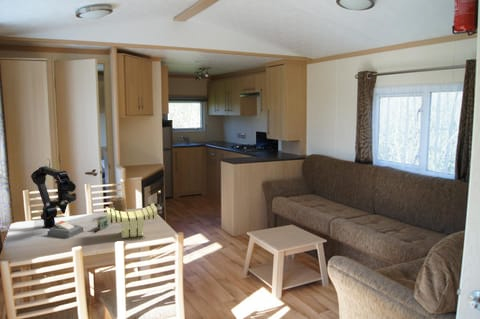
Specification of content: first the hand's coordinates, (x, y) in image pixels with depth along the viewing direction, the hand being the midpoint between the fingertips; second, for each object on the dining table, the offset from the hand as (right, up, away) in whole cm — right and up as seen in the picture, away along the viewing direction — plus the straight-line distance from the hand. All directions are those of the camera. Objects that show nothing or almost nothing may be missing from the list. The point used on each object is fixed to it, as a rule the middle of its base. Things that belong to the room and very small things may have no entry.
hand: (63, 213), depth 266 cm
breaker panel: (+3, -13, -4) cm, 14 cm away
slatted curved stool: (+47, -13, -6) cm, 49 cm away
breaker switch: (+3, -7, -5) cm, 10 cm away
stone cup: (+29, -8, +32) cm, 44 cm away
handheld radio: (+24, -11, +9) cm, 28 cm away
